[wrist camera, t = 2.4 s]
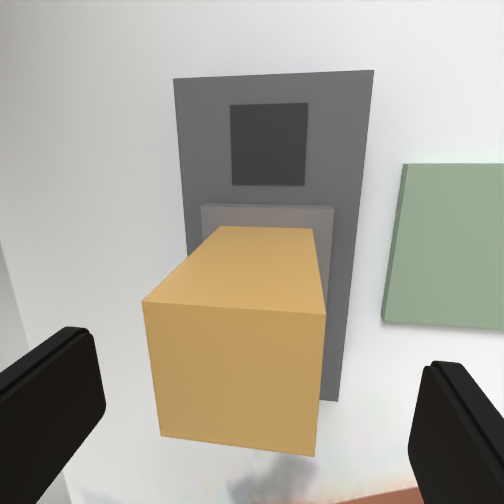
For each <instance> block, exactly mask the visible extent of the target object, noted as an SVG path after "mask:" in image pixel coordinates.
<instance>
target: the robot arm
mask: <svg viewBox="0 0 504 504" xmlns="http://www.w3.org/2000/svg"><path fill="white" fill-rule="evenodd" d="M105 410H106V401H105V395H104V390H103V385H102V380H101V374H100V369H99V364H98V359H97V353H96V348H95V343H94V338H93V336H92V334H90V333H89V331H88V330H87V329H86V328H79V327H64V328H62V329H61V330H59V331H58V332H57V333H55V334H54V335H52V336H51V337H50V338H48V339H47V340H45V341H44V342H43V343H41V344H40V345H38V346H37V347H36V348H34V349H33V350H31V351H30V352H29V353H27V354H26V355H25V356H23V357H22V358H20V359H19V360H17V361H16V362H15V363H14V364H12V365H11V366H9V367H8V368H6V369H5V370H4V371H2V372H1V373H0V504H36V502H37V501H38V500H39V499H40V497H41V496H42V495H43V494H44V492H45V491H46V490H47V488H48V487H49V486H50V485H51V483H52V482H53V481H54V479H55V478H56V477H57V475H58V474H59V473H60V472H61V470H62V469H63V468H64V466H65V465H66V464H67V462H68V461H69V460H70V459H71V457H72V456H73V455H74V453H75V452H76V451H77V449H78V448H79V447H80V446H81V444H82V443H83V442H84V440H85V439H86V438H87V436H88V435H89V434H90V433H91V431H92V430H93V429H94V427H95V426H96V425H97V423H98V422H99V421H100V420H101V418H102V417H103V415H104V413H105ZM408 456H409V460H410V464H411V466H412V469H413V472H414V475H415V478H416V481H417V484H418V486H419V489H420V492H421V495H422V498H423V501H424V503H425V504H504V418H503V417H502V416H501V415H500V413H499V412H498V411H497V409H496V408H495V407H494V405H493V404H492V403H491V401H490V400H489V399H488V398H487V396H486V395H485V394H484V392H483V391H482V390H481V388H480V387H479V386H478V385H477V383H476V382H475V381H474V379H473V378H472V377H471V375H470V374H469V373H468V372H467V370H466V369H465V368H464V366H463V365H462V364H460V363H455V362H445V361H433V362H432V363H431V366H425V367H424V369H423V373H422V378H421V383H420V388H419V393H418V398H417V403H416V408H415V413H414V417H413V422H412V427H411V432H410V437H409V442H408Z"/></svg>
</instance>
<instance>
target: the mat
mask: <svg viewBox="0 0 504 504" xmlns="http://www.w3.org/2000/svg"><path fill="white" fill-rule="evenodd" d="M381 316H382V318H383V320H384V321H386V322H400V323H414V324H428V325H442V326H456V327H470V328H484V329H498V330H504V164H404V165H403V171H402V178H401V185H400V191H399V198H398V205H397V211H396V218H395V225H394V231H393V238H392V245H391V251H390V258H389V264H388V271H387V278H386V284H385V291H384V298H383V304H382V311H381Z"/></svg>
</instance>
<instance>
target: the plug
mask: <svg viewBox="0 0 504 504" xmlns="http://www.w3.org/2000/svg"><path fill="white" fill-rule="evenodd" d="M201 221H202V237H203V243H202V244H201V245H200V246H199V247H198V248H197V249H196V250H195V251H194V252H193V253H192V254H191V255H189V256H188V257H187V258H186V259H185V260H184V261H183V262H182V263H181V264H180V265H179V266H178V267H177V268H176V269H175V270H174V271H173V272H172V273H171V274H170V275H169V276H168V277H167V278H166V279H165V280H164V281H162V282H161V283H160V284H159V285H158V286H157V287H156V288H155V289H154V290H153V291H152V292H151V293H150V294H149V295H148V296H147V297H146V298H145V299H144V300H143V301H142V307H143V314H144V321H145V328H146V335H147V342H148V349H149V356H150V363H151V370H152V377H153V384H154V392H155V399H156V406H157V413H158V420H159V427H160V434H161V436H164V437H171V438H179V439H186V440H193V441H201V442H208V443H215V444H223V445H230V446H237V447H245V448H252V449H259V450H266V451H274V452H281V453H288V454H296V455H303V456H310V457H314V455H315V443H316V431H317V419H318V407H319V395H320V383H321V371H322V359H323V347H324V335H325V323H326V305H327V293H328V281H329V269H330V257H331V245H332V233H333V221H334V208H333V206H332V205H281V204H227V203H206V204H204V205H202V206H201Z"/></svg>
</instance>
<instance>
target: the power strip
mask: <svg viewBox="0 0 504 504" xmlns="http://www.w3.org/2000/svg"><path fill="white" fill-rule="evenodd" d="M373 77H374V70H360V71H337V72H314V73H291V74H268V75H246V76H223V77H200V78H177V79H173V84H174V96H175V108H176V120H177V133H178V145H179V157H180V169H181V182H182V194H183V206H184V218H185V231H186V243H187V255H188V256H189V255H191V254H192V253H193V252H194V251H195V250H196V249H197V248H198V247H199V246H200V245H201V244H202V243H203V237H202V221H201V206H202V205H204V204H206V203H227V204H281V205H332V206H333V208H334V221H333V233H332V245H331V257H330V269H329V281H328V293H327V305H326V323H325V335H324V347H323V359H322V371H321V383H320V395H319V400H327V401H336V402H338V397H339V388H340V378H341V369H342V360H343V351H344V342H345V333H346V324H347V314H348V305H349V296H350V287H351V278H352V269H353V260H354V250H355V241H356V232H357V223H358V214H359V205H360V196H361V186H362V177H363V168H364V159H365V150H366V141H367V132H368V122H369V113H370V104H371V95H372V86H373Z"/></svg>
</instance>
